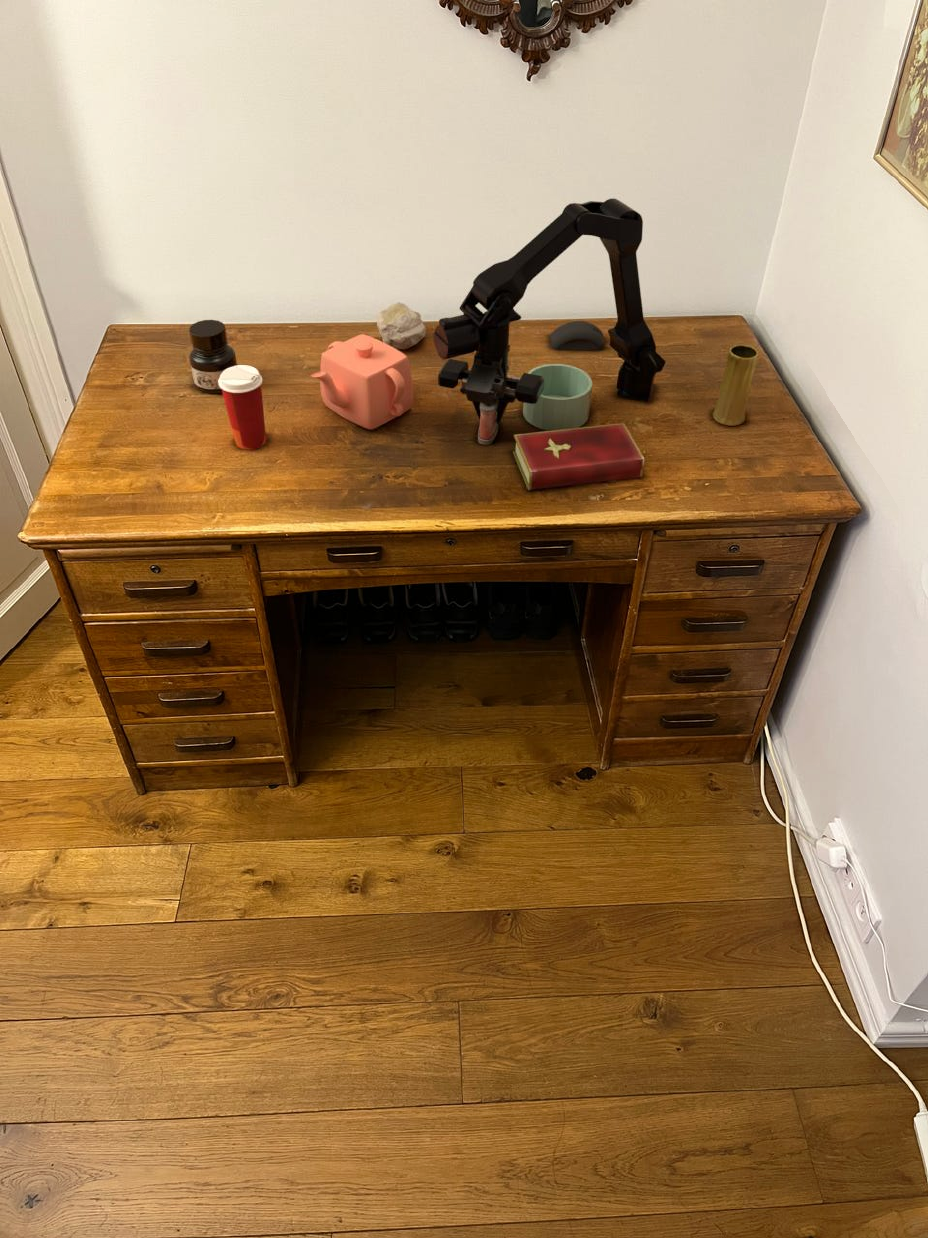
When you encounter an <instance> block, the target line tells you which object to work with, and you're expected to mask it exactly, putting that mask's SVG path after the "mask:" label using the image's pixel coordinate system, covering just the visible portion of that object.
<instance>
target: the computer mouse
mask: <svg viewBox="0 0 928 1238" xmlns="http://www.w3.org/2000/svg"><path fill="white" fill-rule="evenodd" d="M550 347H551V349H552V350H557V351H601V350H602V349H603V348H604V347H605V337H604V333H603V331H602V330H601V329H600V328H599V327H598V326H596V325H595V324H593V323H591V322H588V321H582V320H575V321H569V322H566V323H564V324H562V325H560V326H558V327H556V328H555V329H554V330H553V331H552V332H551V333H550Z"/></svg>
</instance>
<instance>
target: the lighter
mask: <svg viewBox="0 0 928 1238" xmlns="http://www.w3.org/2000/svg"><path fill="white" fill-rule="evenodd" d="M498 405H499V401H498V398H497V399H493V401H492V402H491V403H490V404H483V403H480V411H481V415H480V420H479V427H478V431H477V442H478V443H479V444H481V445H491V444H492V443H493V441H494V440H495V439H496V436H497V434H498V429H499V424H497V412H498Z"/></svg>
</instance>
